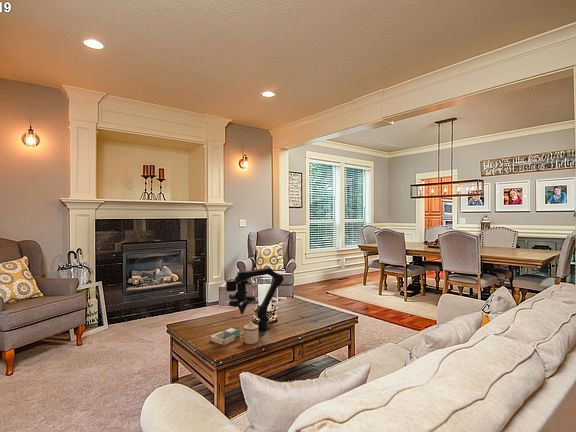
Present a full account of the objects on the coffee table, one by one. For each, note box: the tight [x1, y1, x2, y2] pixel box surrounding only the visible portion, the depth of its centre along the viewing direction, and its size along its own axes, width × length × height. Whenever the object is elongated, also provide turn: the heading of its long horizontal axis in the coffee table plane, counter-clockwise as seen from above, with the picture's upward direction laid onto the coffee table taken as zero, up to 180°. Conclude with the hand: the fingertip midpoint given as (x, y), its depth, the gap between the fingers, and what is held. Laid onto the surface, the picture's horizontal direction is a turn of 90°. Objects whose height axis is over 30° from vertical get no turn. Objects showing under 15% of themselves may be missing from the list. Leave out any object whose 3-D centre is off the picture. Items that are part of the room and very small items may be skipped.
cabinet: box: [223, 325, 241, 339], centre depth 209 cm, size 8×6×5 cm
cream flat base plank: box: [210, 331, 236, 346], centre depth 202 cm, size 10×11×3 cm
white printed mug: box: [239, 321, 259, 345], centre depth 199 cm, size 12×9×12 cm
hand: (241, 314), depth 216 cm, fingers closed
